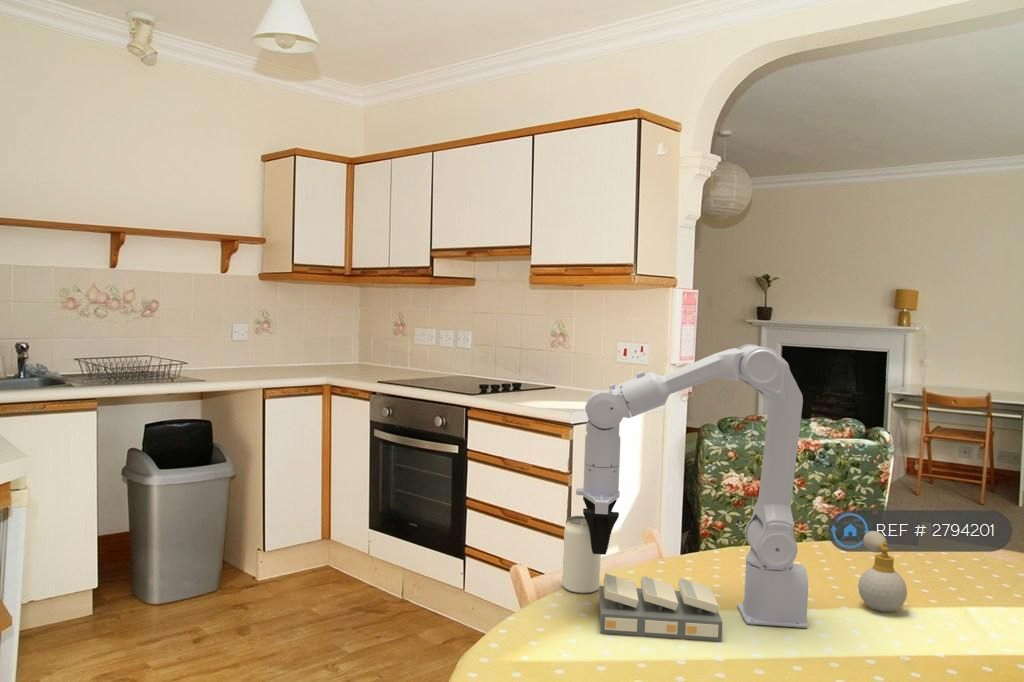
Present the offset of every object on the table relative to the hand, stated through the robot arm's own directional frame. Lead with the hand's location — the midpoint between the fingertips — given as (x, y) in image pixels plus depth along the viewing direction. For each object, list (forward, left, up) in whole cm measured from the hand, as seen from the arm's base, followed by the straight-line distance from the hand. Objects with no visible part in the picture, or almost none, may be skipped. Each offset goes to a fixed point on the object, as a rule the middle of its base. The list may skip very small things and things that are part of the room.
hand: (598, 546), depth 133 cm
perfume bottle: (-47, -8, -10) cm, 49 cm away
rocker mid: (-9, +5, -6) cm, 12 cm away
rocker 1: (-3, +5, -6) cm, 8 cm away
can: (+3, -8, -10) cm, 13 cm away
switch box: (-9, +5, -10) cm, 15 cm away
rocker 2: (-15, +5, -6) cm, 17 cm away
